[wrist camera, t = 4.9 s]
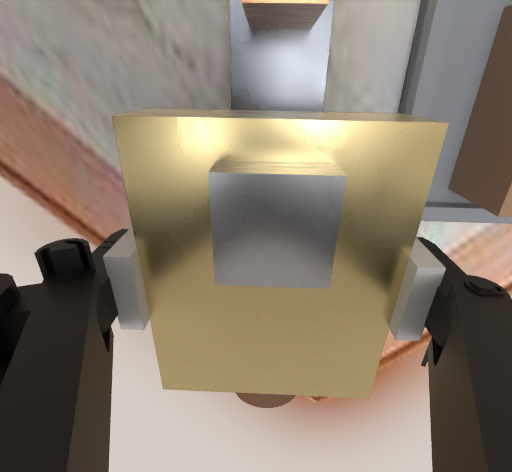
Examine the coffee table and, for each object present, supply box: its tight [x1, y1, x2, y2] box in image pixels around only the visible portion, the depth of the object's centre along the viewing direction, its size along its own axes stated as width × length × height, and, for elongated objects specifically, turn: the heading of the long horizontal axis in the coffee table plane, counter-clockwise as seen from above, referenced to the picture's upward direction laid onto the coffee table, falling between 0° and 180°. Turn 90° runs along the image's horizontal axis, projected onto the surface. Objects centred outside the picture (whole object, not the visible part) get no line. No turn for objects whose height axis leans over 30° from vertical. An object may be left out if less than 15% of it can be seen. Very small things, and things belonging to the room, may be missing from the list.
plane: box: [229, 0, 334, 408], centre depth 17 cm, size 22×4×11 cm, turn 179°
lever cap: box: [112, 108, 449, 398], centre depth 10 cm, size 10×8×4 cm
